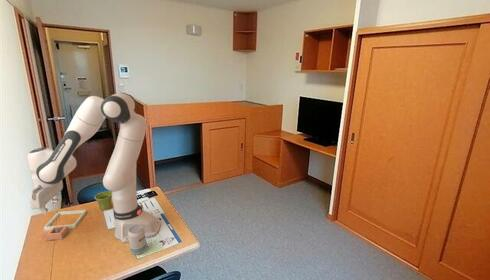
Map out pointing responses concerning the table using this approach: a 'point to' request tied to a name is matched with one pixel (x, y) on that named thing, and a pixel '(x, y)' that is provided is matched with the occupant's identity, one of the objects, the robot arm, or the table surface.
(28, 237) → the table surface
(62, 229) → the orange frame with handle
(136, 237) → the beverage can
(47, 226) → the tray
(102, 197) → the plant pot
